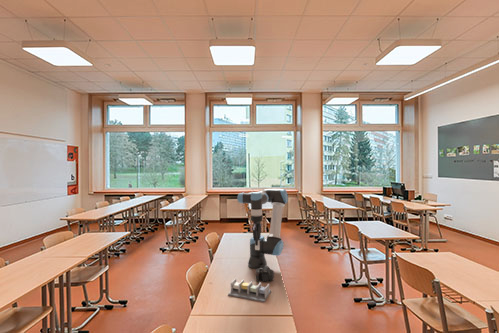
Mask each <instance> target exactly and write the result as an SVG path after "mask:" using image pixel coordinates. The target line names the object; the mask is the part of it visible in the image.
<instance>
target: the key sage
mask: <svg viewBox="0 0 499 333" xmlns="http://www.w3.org/2000/svg"><path fill="white" fill-rule="evenodd" d="M256 287H257V285H255V284H252V286H251V287H250V291H251V292H256Z"/></svg>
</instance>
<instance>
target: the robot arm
mask: <svg viewBox="0 0 499 333" xmlns="http://www.w3.org/2000/svg"><path fill="white" fill-rule="evenodd" d="M236 197H237V202H238V203H239V204H249V205H250V213H251V214H250V220H251V222H253V223H252V224H253V225H252V227H251V230H252V236H253V237H251V238H250V239H249V253H250V254H249V259H248V262H247V264H248V265H247V266H248V268H250V269H254V270H257V269H259V268H264V267H265V266H268V263H267V259H266V257H265V255H270V256H280V255H281V254H282V253H283V249H284V241H283V240H282V238H281V228H282V220H283V210H284V207H285V206H286V204H288V201H289V196H288V192H287V190H286V189H283V188H265V189H260V190H258V191H253V192H239V193H238V194H237V196H236ZM266 203H271V205H272V209H271V218H270V224H269V225H270V227H269V234H267V236H266V238H265V236H263V235H261V232H262V223H261V222H262V221H263V205H265V204H266Z"/></svg>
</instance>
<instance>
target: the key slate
mask: <svg viewBox="0 0 499 333" xmlns="http://www.w3.org/2000/svg"><path fill="white" fill-rule="evenodd" d="M265 287H266V286H261V288H260V289H259V293H262V294H265Z"/></svg>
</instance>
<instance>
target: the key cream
mask: <svg viewBox="0 0 499 333" xmlns="http://www.w3.org/2000/svg"><path fill="white" fill-rule="evenodd" d="M239 283H240V282H238V281H236V282H235V283H234V284H233V288H235V289H239V285H238V284H239Z"/></svg>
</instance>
